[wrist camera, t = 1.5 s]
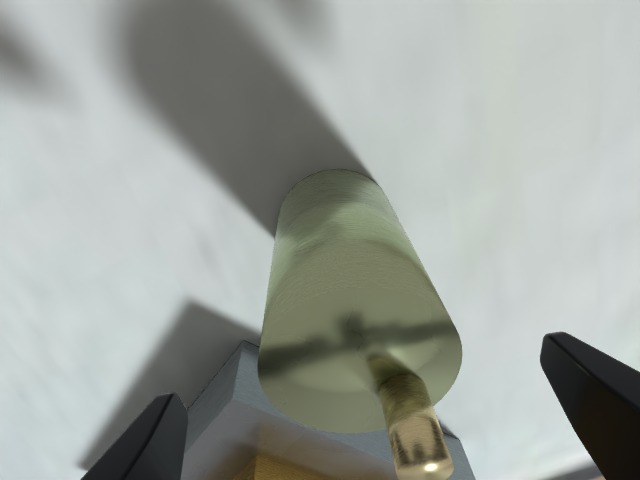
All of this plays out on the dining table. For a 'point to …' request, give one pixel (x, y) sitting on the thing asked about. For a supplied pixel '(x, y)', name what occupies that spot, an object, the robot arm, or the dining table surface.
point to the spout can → (357, 323)
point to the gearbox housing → (279, 437)
